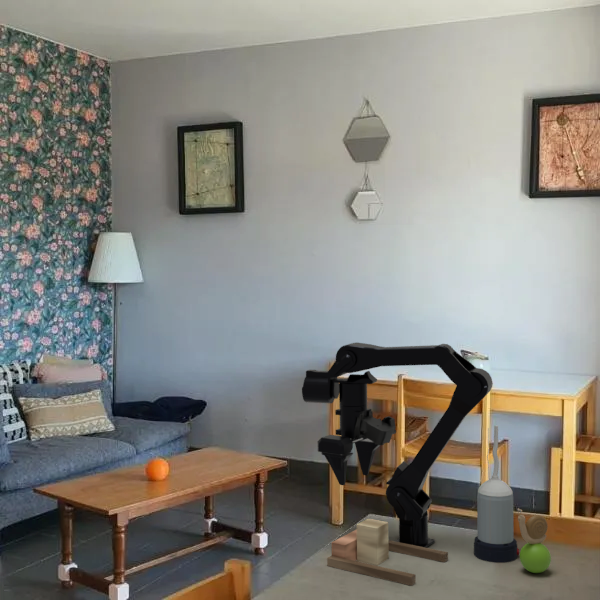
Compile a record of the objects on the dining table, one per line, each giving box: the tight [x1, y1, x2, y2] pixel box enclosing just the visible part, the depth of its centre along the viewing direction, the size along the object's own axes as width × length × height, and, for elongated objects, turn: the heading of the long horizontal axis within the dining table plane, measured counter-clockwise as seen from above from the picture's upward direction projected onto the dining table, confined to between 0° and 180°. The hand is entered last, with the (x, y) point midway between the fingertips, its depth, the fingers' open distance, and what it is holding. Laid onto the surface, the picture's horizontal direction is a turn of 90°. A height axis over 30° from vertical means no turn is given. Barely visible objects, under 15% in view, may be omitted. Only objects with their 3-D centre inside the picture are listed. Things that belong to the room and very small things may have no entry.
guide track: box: [326, 528, 449, 586], centre depth 152 cm, size 15×18×4 cm
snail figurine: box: [516, 508, 552, 574], centre depth 146 cm, size 5×6×12 cm
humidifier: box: [473, 425, 520, 564], centre depth 155 cm, size 8×8×25 cm
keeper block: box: [356, 518, 390, 566], centre depth 153 cm, size 4×4×7 cm
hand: (354, 479), depth 166 cm, fingers open, 9 cm apart
